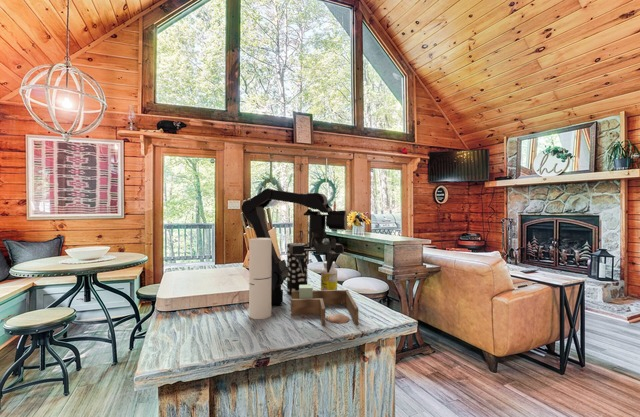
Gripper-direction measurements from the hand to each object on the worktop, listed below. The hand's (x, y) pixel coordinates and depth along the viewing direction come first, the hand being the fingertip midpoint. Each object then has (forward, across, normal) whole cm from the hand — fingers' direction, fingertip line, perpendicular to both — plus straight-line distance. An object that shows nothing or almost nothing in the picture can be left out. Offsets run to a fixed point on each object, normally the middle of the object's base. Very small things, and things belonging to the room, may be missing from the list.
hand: (315, 273), depth 111 cm
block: (+12, -4, -1) cm, 13 cm away
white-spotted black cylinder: (+13, -1, +20) cm, 24 cm away
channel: (+12, 0, -6) cm, 14 cm away
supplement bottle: (+12, +11, +15) cm, 22 cm away
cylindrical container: (+13, -19, -2) cm, 23 cm away
